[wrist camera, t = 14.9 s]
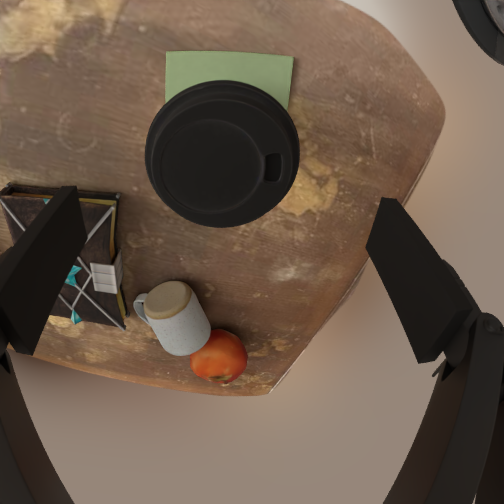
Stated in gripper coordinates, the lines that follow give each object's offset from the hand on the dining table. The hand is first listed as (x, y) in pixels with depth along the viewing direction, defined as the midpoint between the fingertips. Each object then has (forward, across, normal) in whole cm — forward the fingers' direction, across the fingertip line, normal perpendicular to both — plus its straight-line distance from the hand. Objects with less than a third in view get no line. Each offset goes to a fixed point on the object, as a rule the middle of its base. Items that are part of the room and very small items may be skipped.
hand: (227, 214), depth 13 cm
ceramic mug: (+21, -8, -27) cm, 35 cm away
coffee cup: (+20, -1, 0) cm, 20 cm away
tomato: (+21, 0, -36) cm, 42 cm away
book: (+21, -22, -19) cm, 35 cm away
